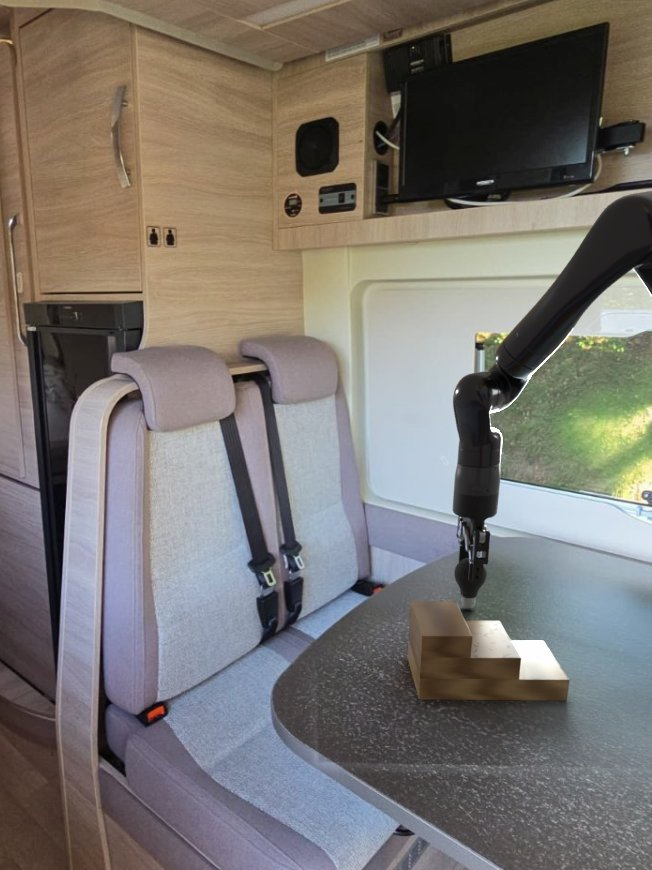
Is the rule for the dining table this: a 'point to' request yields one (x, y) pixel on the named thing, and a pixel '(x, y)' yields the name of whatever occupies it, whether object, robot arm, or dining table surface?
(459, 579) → the light bulb
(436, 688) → the step shelf
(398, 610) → the dining table surface
